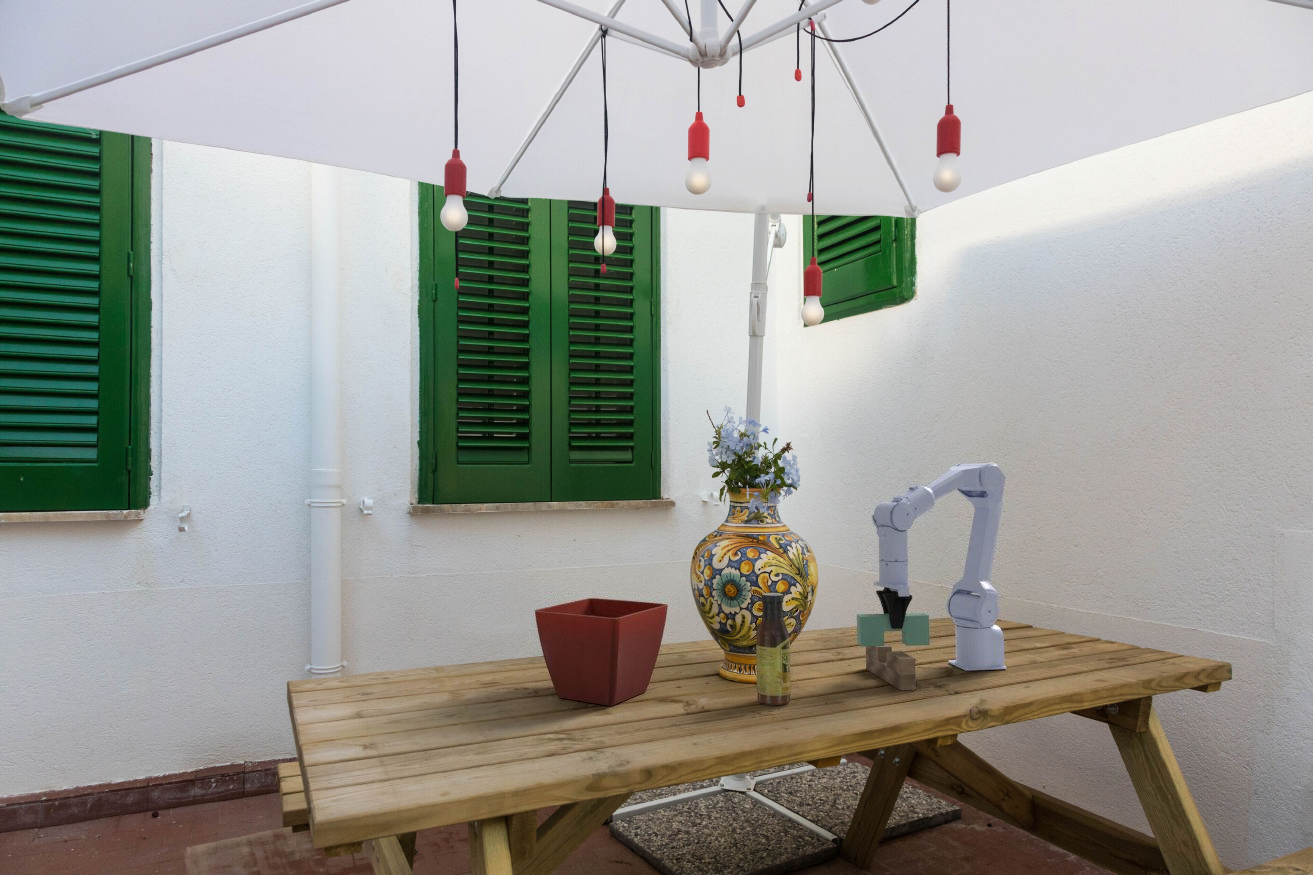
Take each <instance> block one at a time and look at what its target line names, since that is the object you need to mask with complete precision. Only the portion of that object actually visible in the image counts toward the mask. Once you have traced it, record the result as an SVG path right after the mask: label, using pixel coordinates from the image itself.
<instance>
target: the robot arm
mask: <svg viewBox="0 0 1313 875" xmlns="http://www.w3.org/2000/svg"><path fill="white" fill-rule="evenodd" d="M1005 483H1006V476H1005V474H1004V472H1003V470H1002V468H1001V467H1000V466H999V465H998V464H997V463H995V462H988V463H985V462H983V463H965V462H959V463H956V465H953V466H950V467H949V468H948V471H947V472H945V473H943V474H942V475H940V476H939V477H938V478H936V479H935V480H934V481H932V482H931V483H929V484H928V485H926V486H923V485H919V484H918V485H917V484H916V485H915V484H912V485H910V486H908V489H909V490H907V491H906V492H903V493H901V495H895V496H893V498H892V500H891V501H882V502H880V503H879V504H878V505H876V507H875V509H874V512H873V514H872V515H871V520H872V523H873V524H874V526H875V528H876V535H877V537H878V566H879V567H878V571H879V572H878V574H879V575H878V577H879V578H878V579H879V580H875V581H873V585H874V586H877V587H880V588H883V589H882V590H879V589H878V590H876V591H875V594H876V595H877V597H878V599H879V601H880V605H881V608H882V611H883V614H889V619H890V625H891V628H892V629H902V628H903V624H904V619H905V615H906V613H907V610H908V607H909V606H910V604H911V602H912V600H913V595H912V594H910V582H909V563H908V562H909V561H908V560H909V554H908V553H909V550H908V549H909V548H908V530H910V529H911V527H912V526H913V524H914V521H915V520H916V519H918V518H920V517H921V516H923V515H924V514H926V513H927V512H929V511H931V510H933V509H934V506H935V504H936V501H937V500H938V499H941V498H943V497H945V496H946V495H949V494H950V493H952V492H954V491H958V493H959V494H960V495H962V496H963V497H964V498H965V499H966V500H967V501H968V502H970V503H971V505H972V506H973V507H974V513H973V519H972V524H971V528H970V530H971V531H970V535H969V539H968V540H969V541H968V547H967V552H966V560H965V565H964V570H963V576H962V577H961V579H959V580H958V581H956V582H955V583H954V584H953V585H952V591H951V593H950V595H949V596H948V598H947V602H946V611H947V614H948V616H949V617H950V618H951V620H952V624H955V625H954V626H955V629H954V630H955V632H954V633H955V637H954V638H955V659H952V660H951V659H949V660H947V663H949V664H950V665H952V666H955V667H957V668H959V669H961V670H962V671H963V670H964V671H967V672H968V671H986V670H987V671H989V670H1007V666H1006V665H1005V640H1004V639H1005V638H1004V633H1003V630H1002V629H1001V627H1000V626H998V625H997V624H995V623H996V621H997V620H998V619H999V613H1000V608H999V607H1000V606H999V603H998V602H999V601H998V600H999V594H1000V593H998V591H997V589H995V587H993V585H991V583H990V582H991V574H992V570H993V562H994V557H995V552H996V547H997V546H996V545H997V539H998V534H999V529H1000V528H999V527H1000V522H1001V516H1002V510H1003V509H1002V508H1003V495H1004V490H1005V488H1004V487H1005Z"/></svg>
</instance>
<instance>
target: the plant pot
mask: <svg viewBox="0 0 1313 875" xmlns="http://www.w3.org/2000/svg"><path fill="white" fill-rule="evenodd" d="M668 607H669V606H668V604H666V603H660V602H659V603H658V602H648V601H647V602H646V601H635V600H626V599H609V598H598V597H592V598H591V597H589V598H588V597H587V598H584V599H580V600H573V601H570V602H566V603H560V604H556V605H553V606H547V607H543V608H539V609H538V608H537V609H534V614H535V622H536V628H537V633H538V639H539V643H540V647H541V651H542V655H543V657H544V658H543V659H544V661H545V665H546V668H547V671H548V674H549V677H550V679H551V680H550V681H552V685H553V687H554V690H555V693H556V695H557V697H558V698H562V699H567V700H573V701H579V702H586V703H591V704H598V705H604V706H615V705H617V704H619V703H622V702H624V701H626V700H629V699H631V698H634V697H636V696H639V695H641V694H644V693H646V692H647V689H648V687H649V684H650V681H651V678H652V676H653V673H654V671H655V666H656V662H657V661H658V656H659V653H660V648H661V644H662V642H663V636H664V630H665V627H666V622H667V613H668Z"/></svg>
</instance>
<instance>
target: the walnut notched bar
mask: <svg viewBox="0 0 1313 875" xmlns="http://www.w3.org/2000/svg"><path fill="white" fill-rule="evenodd" d="M865 669H866V670H868V671H870V672H871V673H872V674H874V675H875V676H877V677H879V678H880V679H882V680H884V681H886V682H887V683H888V684H890V685H892V686H893V687H895V688H897V689H898V690H900V691H914V690H915V689H916V690H917V686H916V685H917V683H916V682H917V681H916V680H917V679H916V677H917V676H916V658H915V657H913V656H911V655H909V654H908V653H905V652H904V651H902V650H899V651H897V650H895V651H893V647H892V646H891V645H889V644H888V643H886V642H884V646H865ZM916 690H915V691H916Z"/></svg>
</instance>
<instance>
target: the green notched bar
mask: <svg viewBox="0 0 1313 875" xmlns="http://www.w3.org/2000/svg"><path fill="white" fill-rule="evenodd" d="M929 615H930V614H929ZM929 615H928V614H927V613H925V612H915V613H914V612H910V613H908V612H906V615H905V619H904V624H903V628H902V629H892V628H891V625H890V619H889V614H884V613H861V614H860V613H857V614H856V636H857V638H856V640H857V641H856V642H857V643H856V644H857V645H859V646H860V647H866V646H884V643H885V632H901V643H902V644H903V645H904V646H906V647H907V646H909V647H911V646H912V647H913V646H930V641H931V640H930V616H929Z"/></svg>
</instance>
